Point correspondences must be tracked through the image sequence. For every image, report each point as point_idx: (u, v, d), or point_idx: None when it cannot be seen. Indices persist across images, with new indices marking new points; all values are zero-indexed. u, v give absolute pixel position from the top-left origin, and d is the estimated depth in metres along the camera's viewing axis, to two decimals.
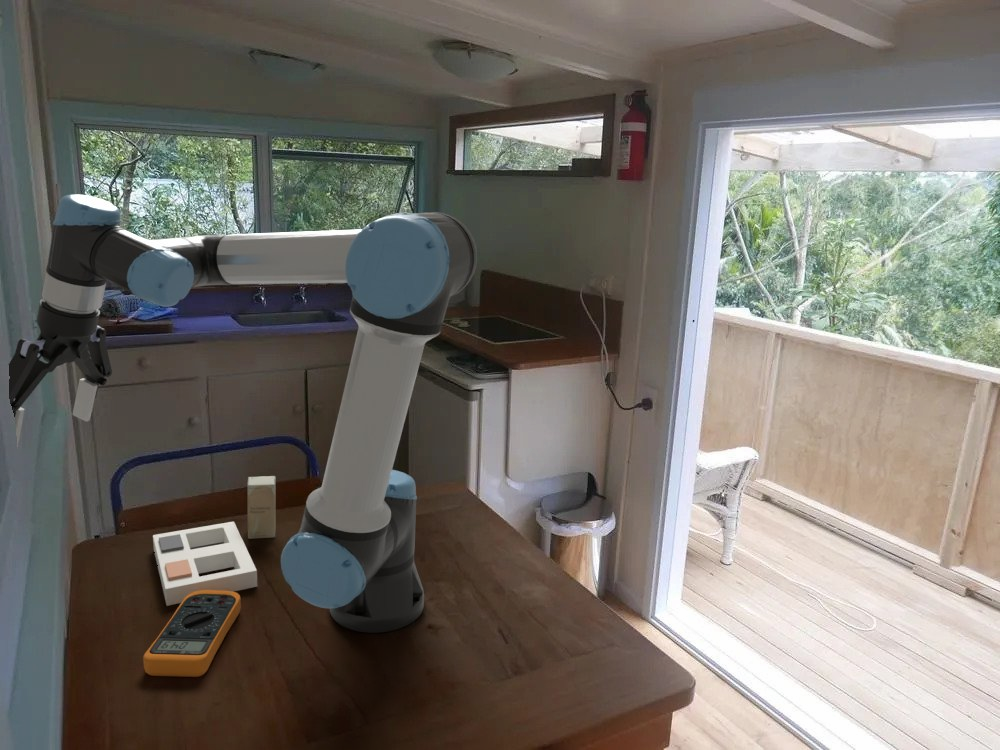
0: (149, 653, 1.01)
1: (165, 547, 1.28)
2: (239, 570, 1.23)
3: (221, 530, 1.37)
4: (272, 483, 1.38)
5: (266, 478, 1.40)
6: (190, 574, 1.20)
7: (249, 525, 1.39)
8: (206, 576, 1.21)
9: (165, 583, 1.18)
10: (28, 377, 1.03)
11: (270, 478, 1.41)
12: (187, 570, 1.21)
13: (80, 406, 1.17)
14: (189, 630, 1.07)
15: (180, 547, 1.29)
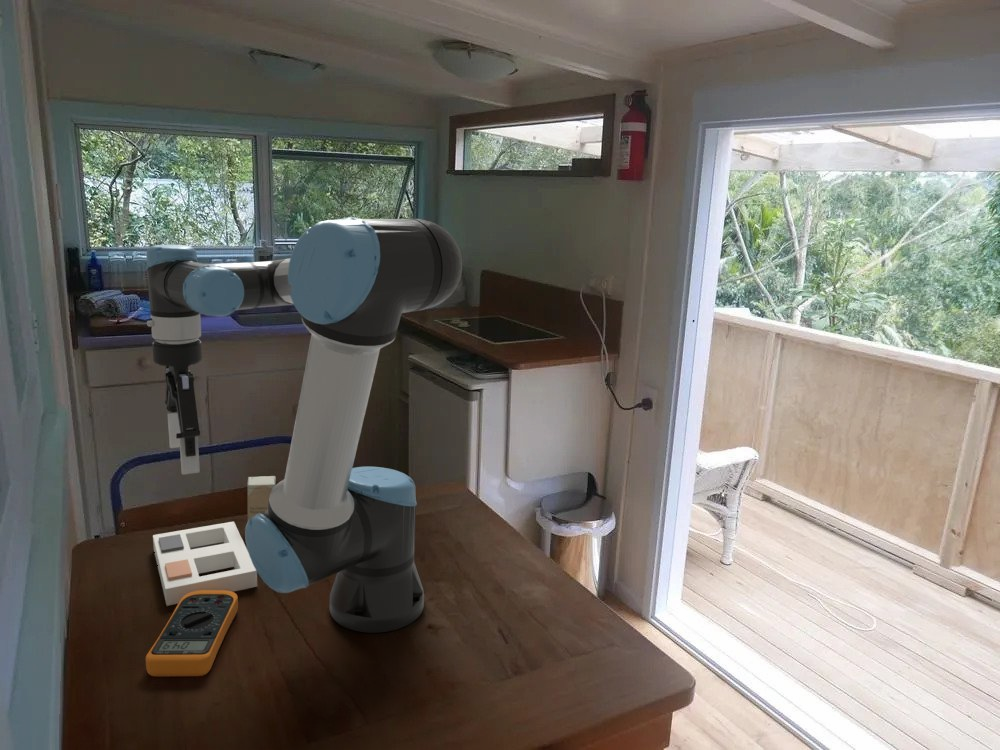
0: (151, 654, 1.01)
1: (165, 547, 1.28)
2: (239, 570, 1.23)
3: (221, 530, 1.37)
4: (272, 483, 1.38)
5: (266, 478, 1.40)
6: (190, 574, 1.20)
7: None
8: (206, 576, 1.21)
9: (165, 583, 1.18)
10: None
11: (270, 478, 1.41)
12: (187, 570, 1.21)
13: (176, 436, 1.32)
14: (189, 630, 1.07)
15: (180, 547, 1.29)
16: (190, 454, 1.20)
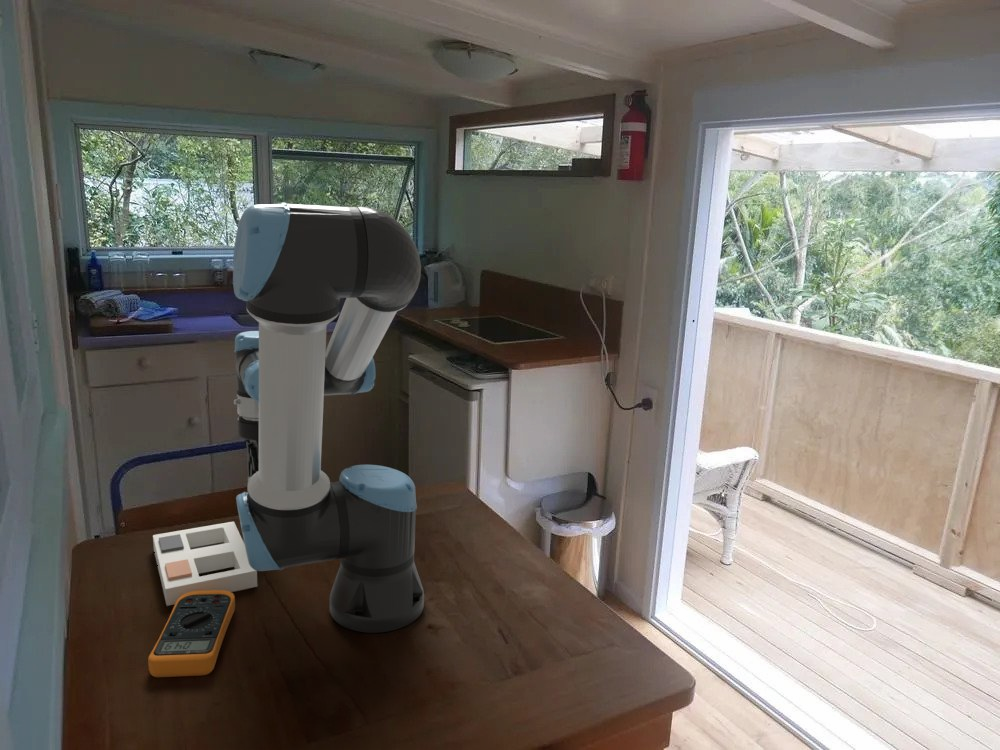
0: (154, 655, 1.01)
1: (165, 547, 1.28)
2: (239, 570, 1.23)
3: (221, 530, 1.37)
4: None
5: None
6: (190, 574, 1.20)
7: None
8: (206, 576, 1.21)
9: (165, 583, 1.18)
10: None
11: None
12: (187, 570, 1.21)
13: None
14: (190, 630, 1.07)
15: (180, 547, 1.29)
16: None
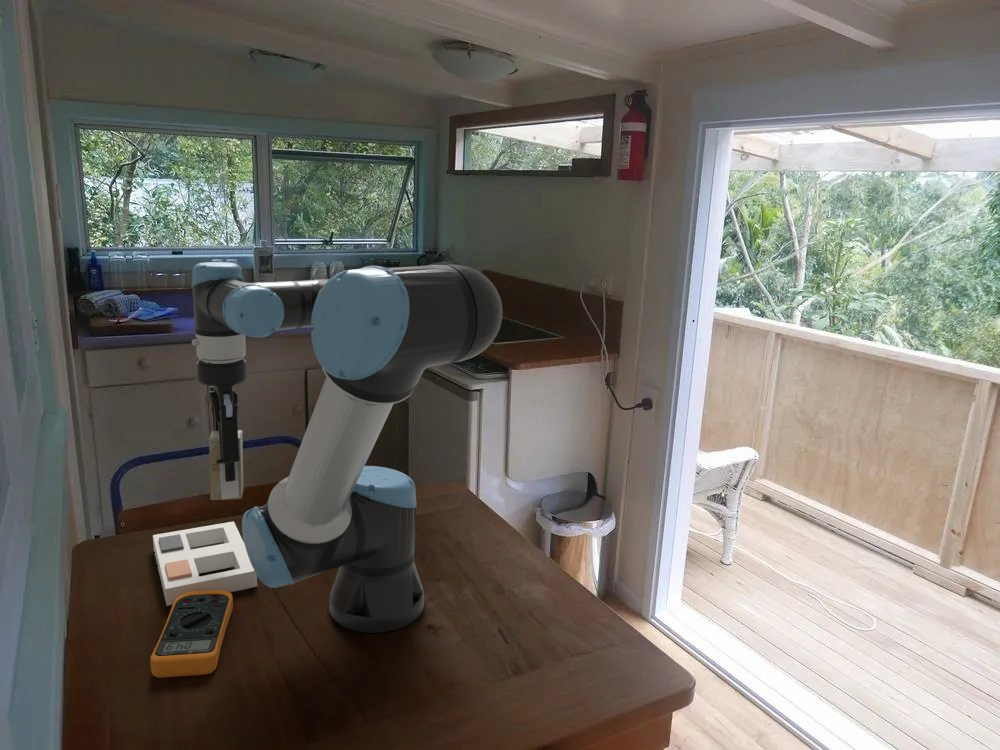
0: (155, 656, 1.01)
1: (165, 547, 1.28)
2: (239, 570, 1.23)
3: (221, 530, 1.37)
4: None
5: None
6: (190, 574, 1.20)
7: (212, 484, 1.23)
8: (206, 576, 1.21)
9: (165, 583, 1.18)
10: None
11: None
12: (187, 570, 1.21)
13: None
14: (190, 630, 1.07)
15: (180, 547, 1.29)
16: (230, 479, 1.21)
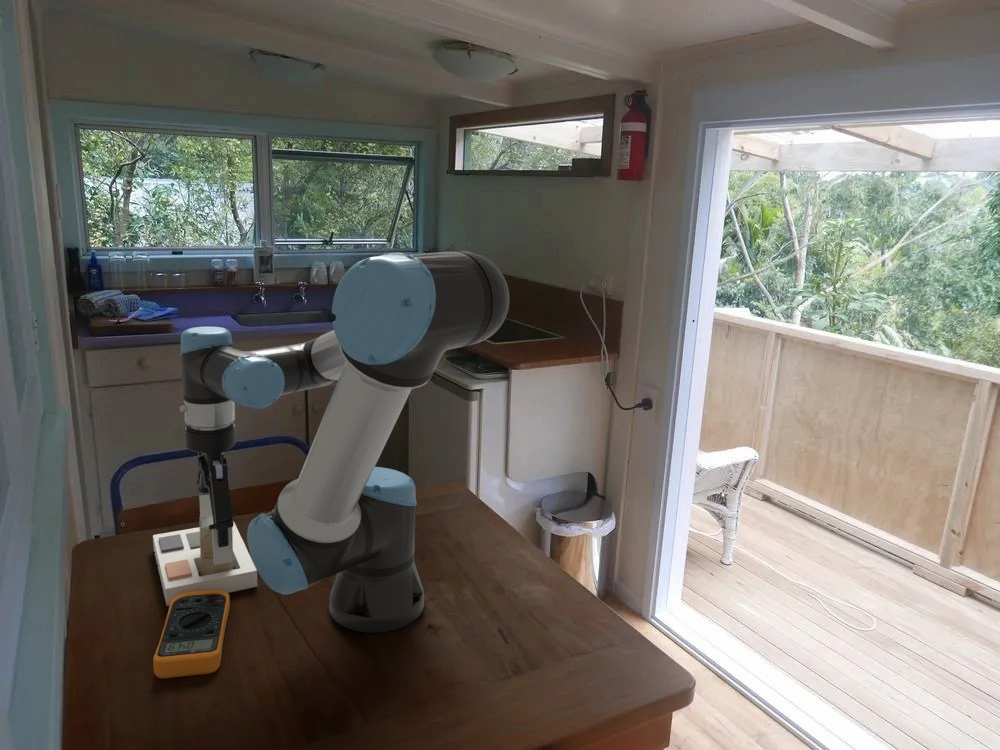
0: (158, 656, 1.01)
1: (165, 547, 1.28)
2: (239, 570, 1.23)
3: None
4: None
5: None
6: (190, 574, 1.20)
7: (203, 572, 1.22)
8: (206, 576, 1.21)
9: (165, 583, 1.18)
10: None
11: None
12: (187, 570, 1.21)
13: None
14: (190, 630, 1.07)
15: (180, 547, 1.29)
16: (223, 545, 1.16)
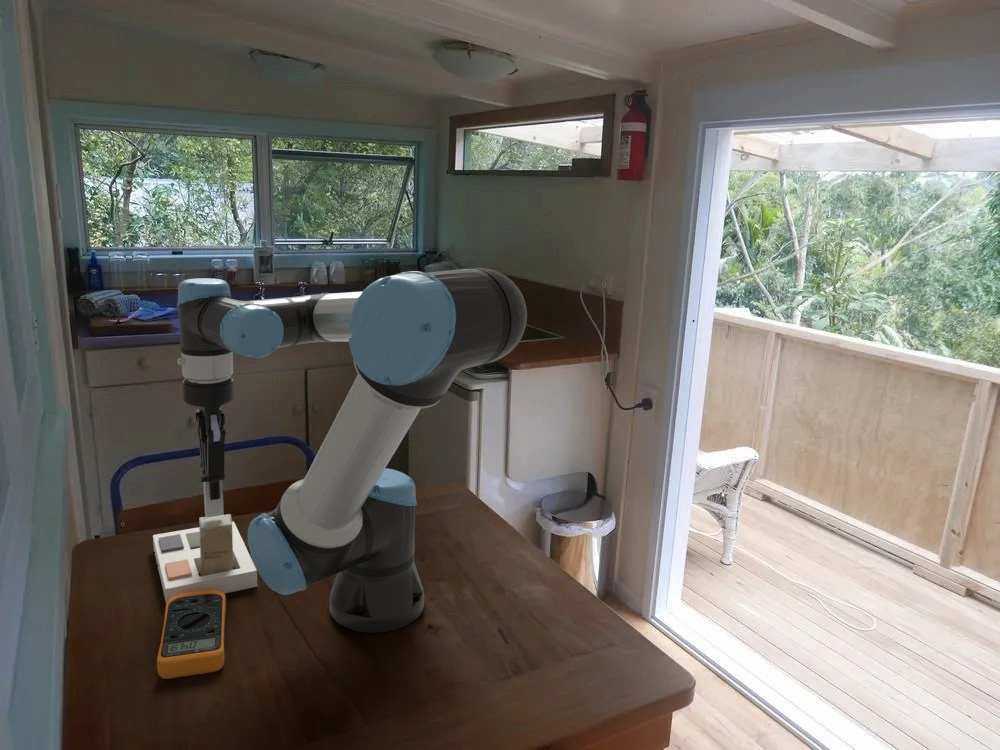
0: (162, 657, 1.01)
1: (165, 547, 1.28)
2: (239, 570, 1.23)
3: None
4: (229, 523, 1.22)
5: (221, 518, 1.23)
6: (190, 574, 1.20)
7: (203, 572, 1.22)
8: (206, 576, 1.21)
9: (165, 583, 1.18)
10: None
11: (225, 517, 1.24)
12: (187, 570, 1.21)
13: None
14: (191, 630, 1.07)
15: (180, 547, 1.29)
16: (214, 497, 1.20)
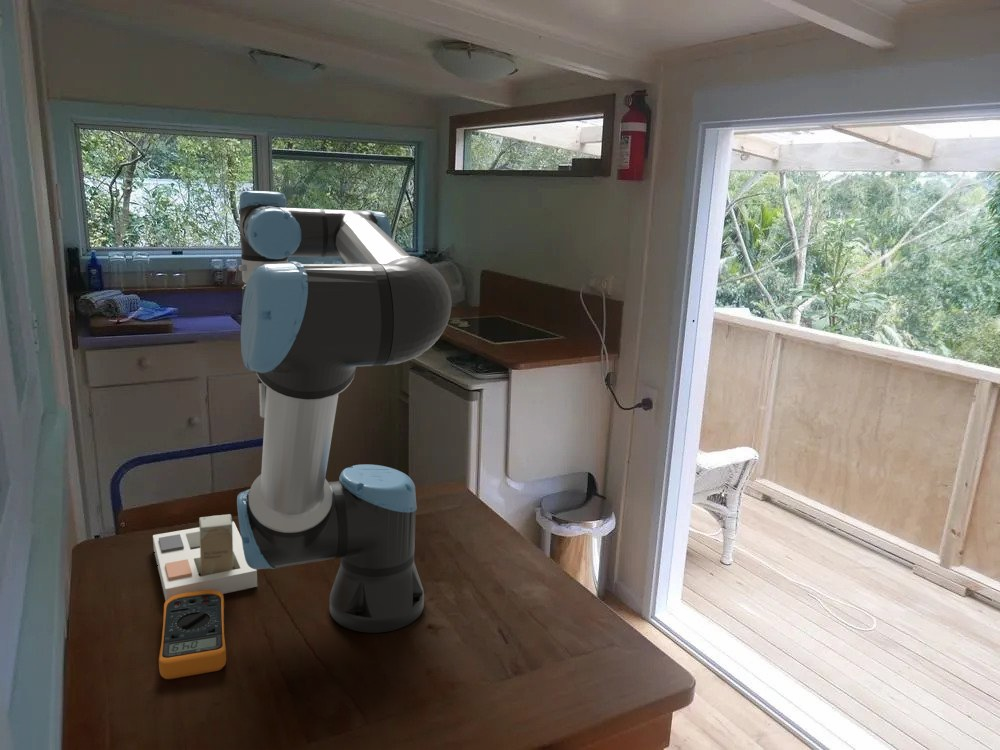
0: (164, 658, 1.00)
1: (165, 547, 1.28)
2: (239, 570, 1.23)
3: None
4: (229, 523, 1.22)
5: (221, 518, 1.23)
6: (190, 574, 1.20)
7: (203, 572, 1.22)
8: (206, 576, 1.21)
9: (165, 583, 1.18)
10: None
11: (225, 517, 1.24)
12: (187, 570, 1.21)
13: None
14: (191, 630, 1.07)
15: (180, 547, 1.29)
16: None
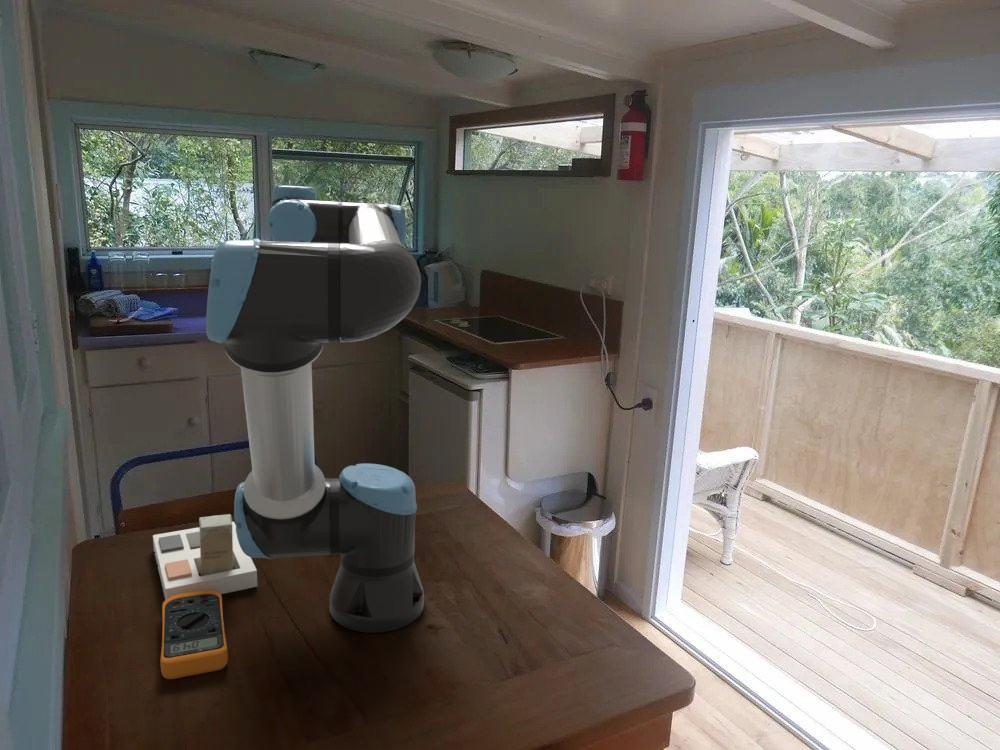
0: (165, 658, 1.00)
1: (165, 547, 1.28)
2: (239, 570, 1.23)
3: None
4: (229, 523, 1.22)
5: (221, 518, 1.23)
6: (190, 574, 1.20)
7: (203, 572, 1.22)
8: (206, 576, 1.21)
9: (165, 583, 1.18)
10: None
11: (225, 517, 1.24)
12: (187, 570, 1.21)
13: None
14: (191, 630, 1.07)
15: (180, 547, 1.29)
16: None
